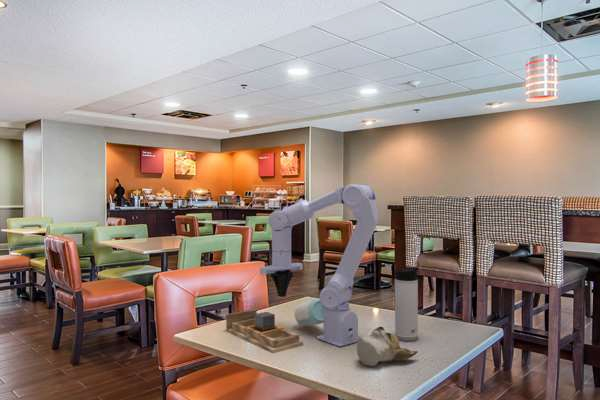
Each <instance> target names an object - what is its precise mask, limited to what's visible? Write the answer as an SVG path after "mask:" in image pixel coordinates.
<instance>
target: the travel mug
mask: <svg viewBox="0 0 600 400" xmlns="http://www.w3.org/2000/svg"><path fill="white" fill-rule="evenodd" d="M418 271H420V267H418V266H416V267H403V268H401V267H400V268H397V269H395V271H394V275H395V276H394V334H395V335H396V336H397V338H398V340H399V341H401V342H408V341H409V342H416V341H417V340H418V339H419V333H418V332H419V319H418V318H419V315H418V314H419V313H418V312H419V308H418V307H419V305H418V304H419V297H418V296H419V295H418V294H419V292H418V291H419V287H418V286H419V285H418V284H419V283H418V281H419V280H418Z"/></svg>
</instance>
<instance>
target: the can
mask: <svg viewBox="0 0 600 400" xmlns="http://www.w3.org/2000/svg"><path fill="white" fill-rule="evenodd" d="M294 319H295V321H296V322H297V324H298V325H300V326H302V327H311V326H315V325H320V324H321V325H322V324H324V306H323V305H322V303H321V301H320V298H315V299H312V300H309V301H305V302H303V303H300V304H298V305H297V306H296V308H295V310H294Z"/></svg>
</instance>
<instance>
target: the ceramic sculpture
mask: <svg viewBox="0 0 600 400" xmlns="http://www.w3.org/2000/svg"><path fill="white" fill-rule="evenodd" d="M358 338H359V339H358V341H357V342H356V343H357V344H356V354H357V356H358V359H359V361H360V362H361V363H362V364H363V365H365V366H367V367H375V366H376V365H377V364H379V362H380V363H385V362H391V361H394V360H398V361H406V360H408V359H411V358H412V357H414V356H415V355H417V354H418V351H417V350H410V349H409V348H406V347H401V346H400V340H398V338H397V336H396V335H395V332H392V331H389V330H387V329H384V327H383V326H378V327H377V328H375V329H373V330H372V332H371V334H370V335H369V336H367V337H366V336H365V337H364V336H361V335H360V336H358Z"/></svg>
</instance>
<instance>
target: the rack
mask: <svg viewBox="0 0 600 400" xmlns="http://www.w3.org/2000/svg"><path fill="white" fill-rule="evenodd" d="M255 314H258V311H257V309H256V308H252V309H247V310H242V311H236V312H231V313H228V314H227V313H226V314H225V315H226V317H225V318H226V320H225V321H226V322H225V324H226V327H225V328H226V330H225V331H226V332H228V333H230V334H231V335H234V336H236V337H239V338H241V339H243V340H245V341H247V342H249V343H251V344H254V346H255V345H256V346H257V347H260V348H262V349H264V350H265V351H269V352H270V353H272V354H275V353H278V352H282V351H285V350H286V351H287V350H290V349H292V348H296V347H299V346H304V341H303V340H301V339H300V335H299V334H296V333H294V332H292V331H289V330H287V329H284V327H281V326H278V325H276V324H275V329H273V330H269V331H264V332H259V331H257V330H255Z"/></svg>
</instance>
